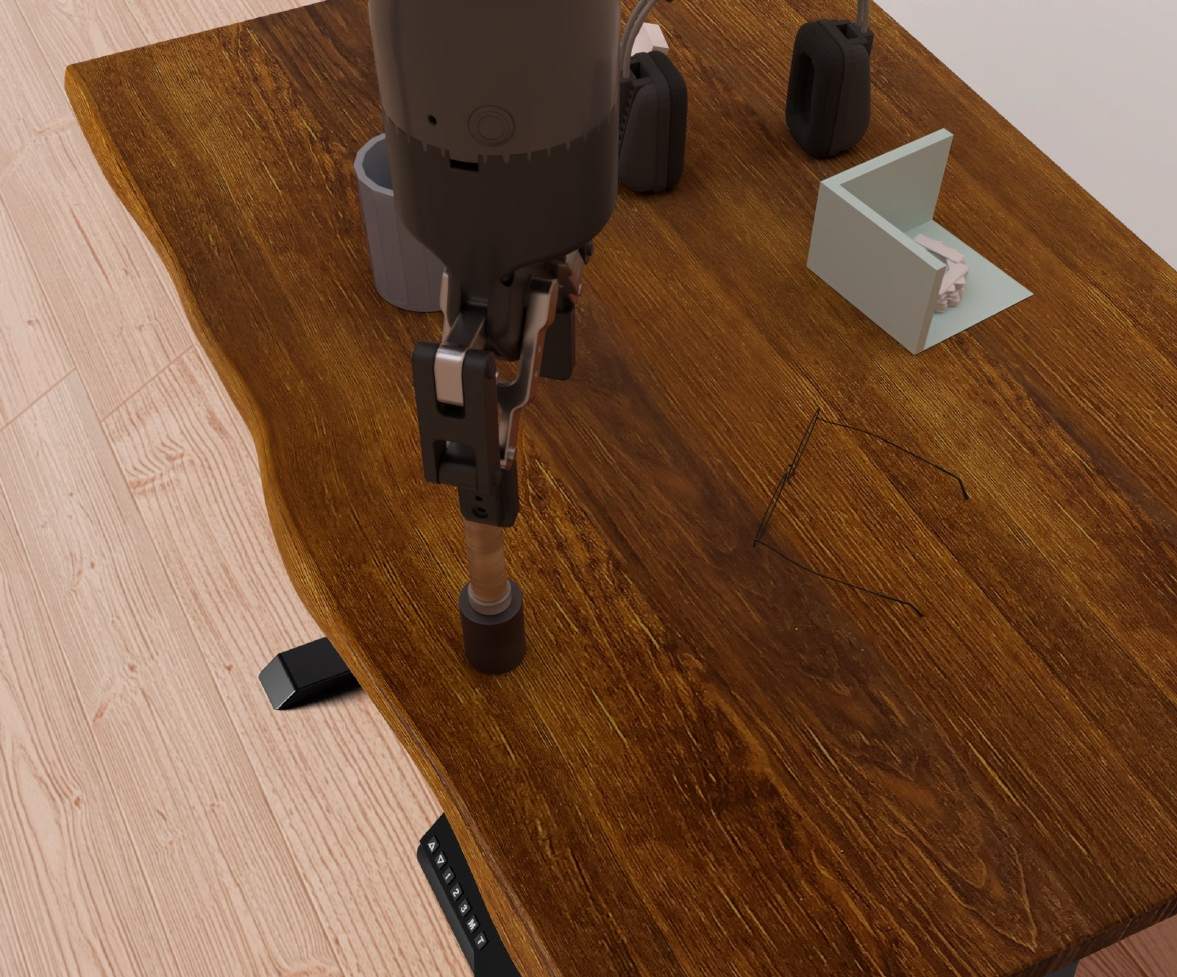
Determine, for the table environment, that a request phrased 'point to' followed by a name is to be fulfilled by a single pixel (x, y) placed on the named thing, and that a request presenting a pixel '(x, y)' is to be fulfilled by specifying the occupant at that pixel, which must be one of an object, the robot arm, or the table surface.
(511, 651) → the cylinder with wooden handle
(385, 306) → the table surface
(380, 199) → the grey cup
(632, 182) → the headphones
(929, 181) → the l-shaped corner panel
